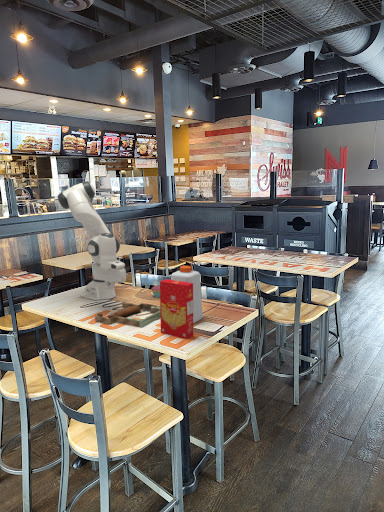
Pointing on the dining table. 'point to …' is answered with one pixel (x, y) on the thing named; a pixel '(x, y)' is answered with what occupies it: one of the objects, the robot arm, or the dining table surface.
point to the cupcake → (156, 290)
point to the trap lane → (129, 320)
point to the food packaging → (176, 308)
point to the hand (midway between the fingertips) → (110, 288)
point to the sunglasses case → (125, 311)
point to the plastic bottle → (193, 277)
